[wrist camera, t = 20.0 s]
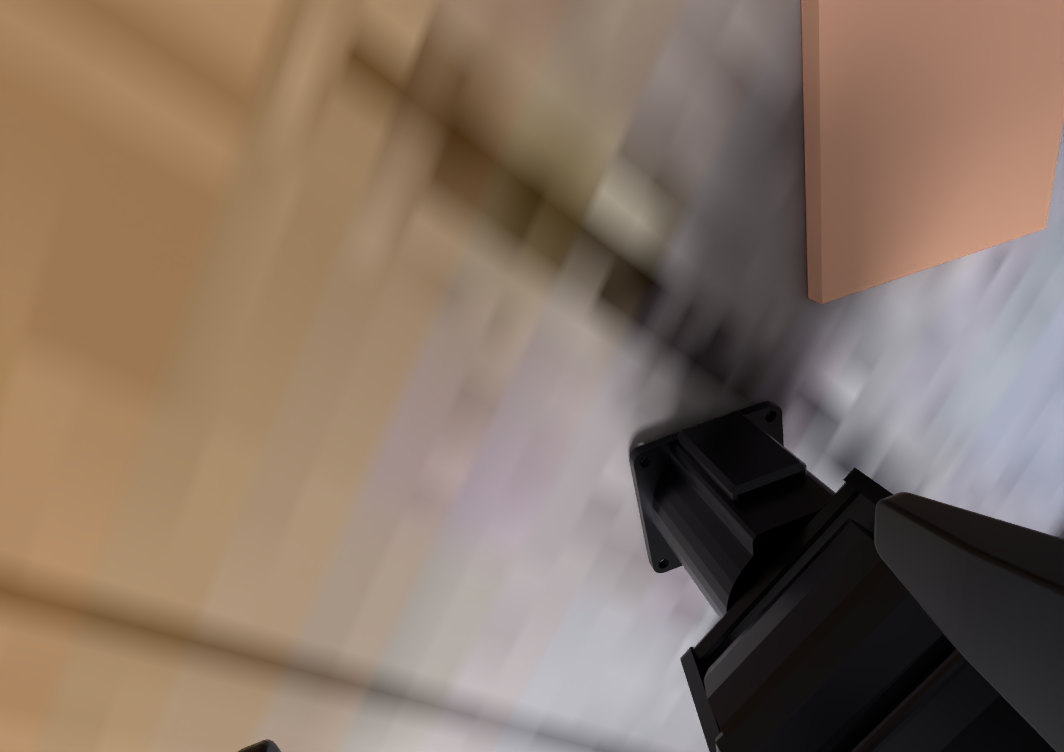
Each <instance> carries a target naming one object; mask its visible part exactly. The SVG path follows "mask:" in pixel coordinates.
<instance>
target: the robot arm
mask: <svg viewBox="0 0 1064 752" xmlns="http://www.w3.org/2000/svg"><path fill="white" fill-rule="evenodd" d="M768 412H770V414H769V415H768V416H767V417H766V415H767V413H768ZM645 456H647V458H646V459H645V460H644V461H643V462H640V460H641V458H643V457H645ZM630 465H631V471H632V476H633V481H634V486H635V491H636V496H637V501H638V507H639V512H640V517H641V522H642V527H643V532H644V538H645V543H646V548H647V553H648V558H649V562H650V564H651V566H652V568H653V569H654V571H656V572H657V573H664V572H667V571H669V570H672V569H675V568H677V567H680V566H682V565H683V566H684V568H685V569H686V571H687V572H688V573H689V575H690V576H691V578H692V579H693V581H694V582H695V583H696V585H697V586H698V588H699V589H700V591H701V592H702V593H703V595H704V596H705V598H706V599H707V601H708V602H709V603H710V605H711V606H712V608H713V609H714V611H715V612H716V613H717V615H718V616H719V618H720V620H719V621H718V622H717V623H716V624H715V625H714V626H713V628H712V629H711V630H710V631H709V632H708V633H707V634H706V635H705V636H704V637H703V638H702V640H701V641H700V642H699V643H698V644H697V645H696V646H695V647H690V648H689V649H688V650H687V652H686V653H685V654H684V655H683V656H682V657H681V663H682V666H683V669H684V672H685V675H686V679H687V682H688V685H689V688H690V691H691V694H692V697H693V701H694V704H695V707H696V710H697V713H698V716H699V720H700V723H701V726H702V729H703V732H704V735H705V738H706V742H707V745H708V748H709V751H710V752H1064V539H1062V538H1059V537H1055V536H1052V535H1049V534H1045V533H1042V532H1039V531H1035V530H1032V529H1029V528H1025V527H1022V526H1019V525H1015V524H1012V523H1009V522H1005V521H1002V520H999V519H995V518H992V517H988V516H985V515H982V514H978V513H975V512H972V511H968V510H965V509H962V508H958V507H955V506H952V505H948V504H945V503H942V502H938V501H935V500H932V499H928V498H925V497H922V496H918V495H915V494H911V493H907V492H900V493H896V494H894V495H893V494H892V493H890V492H889V491H887V490H886V489H885V488H883V487H882V486H880V485H879V484H877V483H876V482H875V481H873V480H872V479H870V478H869V477H868V476H866V475H865V474H863V473H862V472H860V471H859V470H858V469H856V468H854V469H853V470H852V471H851V472H850V473H849V474H848V475H847V476H846V478H845V479H844V481H845V483H844V484H843V486H842V487H841V488H840V489H839V490H838V491H837V492H836V493H835V492H834V491H833V490H831V489H830V488H829V487H828V486H826V485H825V484H824V483H823V482H821V481H820V480H819V479H818V478H817V477H815V476H814V475H813V474H812V473H810V472H809V471H808V470H807V469H806V465H805V463H804V462H802V461H801V460H800V459H799V458H797V457H796V456H795V455H794V454H792V453H791V452H790V451H789V450H787V449H786V448H785V447H784V445H783V424H782V411H781V409H780V408H779V407H778V406H777V405H776V404H774V403H773V402H770V401H766V402H762V403H760V404H757V405H754V406H751V407H748V408H746V409H743V410H740V411H736V412H733V413H730V414H727V415H724V416H722V417H719V418H716V419H713V420H710V421H707V422H705V423H702V424H699V425H696V426H693V427H691V428H688V429H685V430H683V431H681V432H678V433H676V434H673V435H670V436H667V437H664V438H662V439H659V440H656V441H653V442H650V443H648V444H645V445H642V446H639V447H637V448H636V449H634V450H633V451H632V453H631V455H630ZM663 559H664V560H663ZM661 560H663V561H661ZM660 561H661V562H660ZM238 752H281V751H280V749H279V748H278V746H277V745H276V744H275V743H274V742H273V741H271V740H263V741H261V742H258V743H256V744H253V745H250V746H248V747H245V748H243V749H241V750H239V751H238Z"/></svg>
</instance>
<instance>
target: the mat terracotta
mask: <svg viewBox="0 0 1064 752" xmlns="http://www.w3.org/2000/svg"><path fill="white" fill-rule="evenodd" d="M801 13H802V56H803V98H804V141H805V184H806V227H807V270H808V298H809V299H811V300H813V301H816V302H818V303H821V304H824V303H827V302H830V301H833V300H836V299H839V298H842V297H845V296H848V295H851V294H854V293H857V292H860V291H863V290H866V289H869V288H872V287H875V286H878V285H880V284H883V283H886V282H889V281H892V280H895V279H898V278H901V277H904V276H907V275H910V274H913V273H916V272H919V271H922V270H925V269H928V268H931V267H934V266H937V265H939V264H942V263H945V262H948V261H951V260H954V259H957V258H960V257H963V256H966V255H969V254H972V253H975V252H978V251H981V250H984V249H987V248H990V247H993V246H996V245H998V244H1001V243H1004V242H1007V241H1010V240H1013V239H1016V238H1019V237H1022V236H1025V235H1028V234H1031V233H1034V232H1037V231H1040V230H1043V229H1046V227H1047V221H1048V215H1049V209H1050V202H1051V196H1052V190H1053V184H1054V178H1055V171H1056V165H1057V159H1058V153H1059V147H1060V140H1061V134H1062V128H1063V122H1064V0H801Z"/></svg>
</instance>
